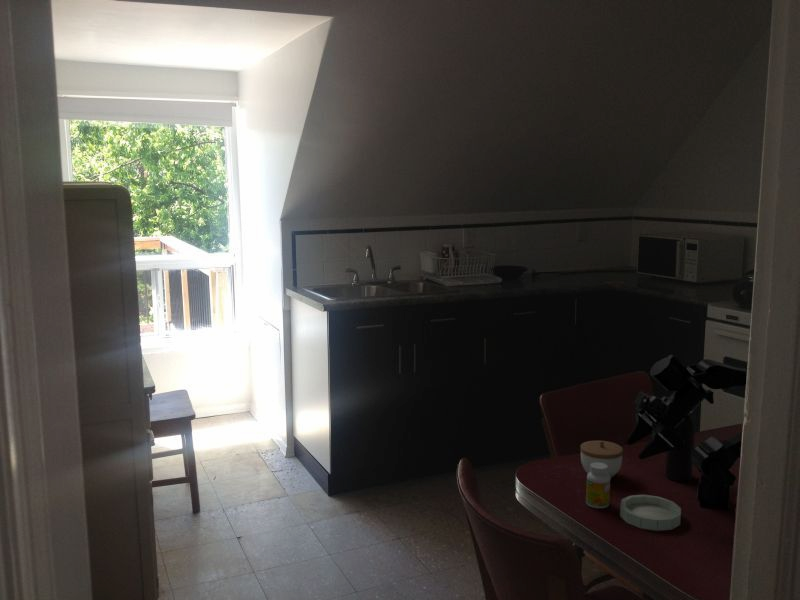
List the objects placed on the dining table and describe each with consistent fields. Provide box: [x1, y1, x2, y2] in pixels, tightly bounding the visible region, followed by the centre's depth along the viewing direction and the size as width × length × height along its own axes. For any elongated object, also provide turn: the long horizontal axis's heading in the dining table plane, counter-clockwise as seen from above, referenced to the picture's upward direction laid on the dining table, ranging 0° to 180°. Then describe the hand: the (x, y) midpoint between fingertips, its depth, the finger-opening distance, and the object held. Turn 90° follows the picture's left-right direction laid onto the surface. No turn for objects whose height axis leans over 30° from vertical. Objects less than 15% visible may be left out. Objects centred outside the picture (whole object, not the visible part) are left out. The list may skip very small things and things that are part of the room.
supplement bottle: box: [585, 462, 611, 510], centre depth 176 cm, size 5×5×10 cm
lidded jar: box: [579, 440, 624, 480], centre depth 193 cm, size 11×11×9 cm
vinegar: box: [664, 411, 697, 482], centre depth 191 cm, size 7×7×20 cm
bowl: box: [619, 494, 682, 532], centre depth 169 cm, size 13×13×2 cm
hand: (633, 450), depth 175 cm, fingers open, 9 cm apart
